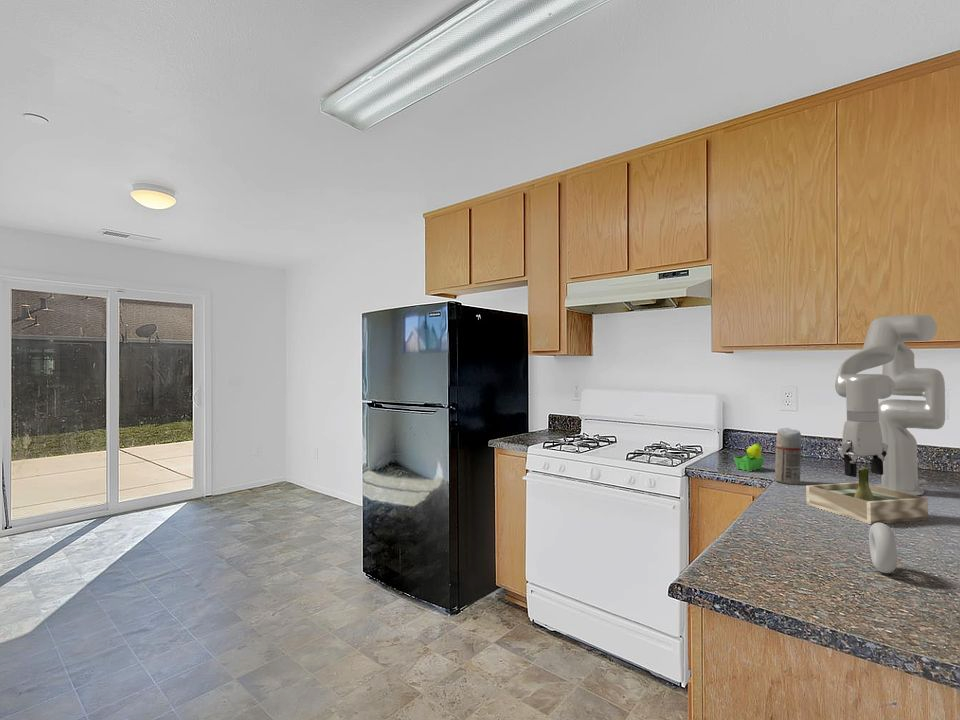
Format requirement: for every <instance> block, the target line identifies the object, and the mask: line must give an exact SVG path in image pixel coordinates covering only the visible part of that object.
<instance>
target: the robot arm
mask: <svg viewBox="0 0 960 720" xmlns="http://www.w3.org/2000/svg"><path fill="white" fill-rule="evenodd" d="M936 334H937V323H936V320H935V319H934V318H933V317H932V316H931V315H927V314H904V315H902V314H901V315H889V316H881V317H877V318H875V319H873V320H872V321H871V323H870V324H869V326H868V329H867V333H866V336H865V340H864V343H863V346H862V349H860V350H859V351H857V352H855V353H854V354H852V355H850V356H849V357H848V358H846V359H845V360H843V362H842V363H841V364H840V366H839V369H838V370H837V371H838V372H837V375H836V379H835V383H834V384H835V385H834V388H835V391H836V394H837V395H838V396H840V397H842V398H845V400H846V402H845V403H846V421H845V422H844V425H843V431H842V442H841V443H842V444H841V446H839V447H838V448H837V451H838V454H839V456H840V458H841V459H842V463H844V476H847V477H852V478H857V476H858V475H857V472H858V471H857V469H858V468H857V463H855V462H856V461H857V459H858V458H859V457H860V458H861V457H871V458H872V459H870V472H871V474H876V475H880V476H881V477H880V478H881V483H877V484H875V486H876V487H881V488H885V489H889V490H894V491H898V492H902V493H907V494H911V495H916V496H923V495H924V494H925V491H924V489H922V488H921V487H920V486H927V485H928V481H927V480H926V479H919V476H918V475H919V473H918V443H917V442H918V441H917V439H916V438H915V436H914V435H913V434H912V432H910V431H909V430H908V429H918V430H919V429H920V430H940V429H941V428H943V426H944V425H945V422H946V385H945V378H944V375H943V373H942V372H941V371H940V370H938V369H936V368H931V367H930V368H929V367H928V368H927V367H921V368H920V367H915V353H914V352H913V350H912V349H911V348H910V347H909V346H908V345H907V344H905V343H907V342H908V343H910V342H930V341H931V340H933V339H934V338H935V336H936ZM880 366H882V370H881V371H882V374H881V373H880V374H879V373H877V374H876V373H860V372H863V371H866V370H869V369H874V368H876V367H877V368H878V367H880ZM891 396H899V397H900V396H902V397H903V396H904V397H905V396H906V397H907V396H908V397H923V398H925V399H926V400H919V399H917V400H916V399H898V398H895V399H889V398H890V397H891ZM884 399H885V400H884ZM879 400H882V401H881V402H879Z"/></svg>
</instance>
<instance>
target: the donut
mask: <svg viewBox="0 0 960 720" xmlns="http://www.w3.org/2000/svg"><path fill="white" fill-rule="evenodd" d="M896 542H897V541H896V537H895V535H894V532H893V530H892V528H891V527H890V526H889V525H887V524H883V523H874V524H873V525H870V527H869V532H868V545H869V552H870V558H871V563H872V564H873V567H874V568H875V569H876V570H877V571H878V572H880V573H883V574H890V573H892V572H894V571H895V570H896V568H897V563H898V549H897V543H896Z"/></svg>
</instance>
